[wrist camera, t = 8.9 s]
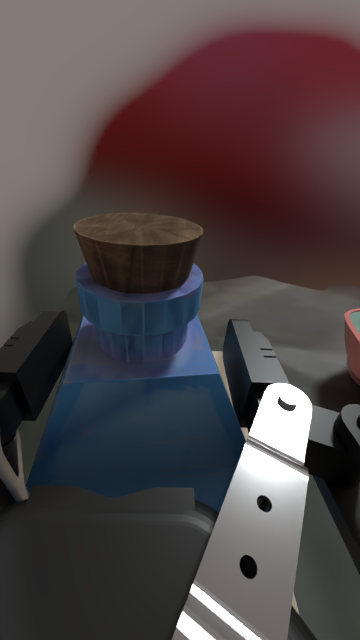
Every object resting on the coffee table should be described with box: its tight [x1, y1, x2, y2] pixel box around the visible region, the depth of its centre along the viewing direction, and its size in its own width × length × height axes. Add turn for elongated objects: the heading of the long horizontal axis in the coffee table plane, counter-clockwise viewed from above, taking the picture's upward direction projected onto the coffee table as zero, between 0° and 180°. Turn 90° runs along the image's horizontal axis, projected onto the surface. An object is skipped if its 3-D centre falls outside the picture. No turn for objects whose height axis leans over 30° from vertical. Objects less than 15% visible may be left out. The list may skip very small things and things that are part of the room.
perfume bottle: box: [26, 213, 246, 513], centre depth 10 cm, size 6×6×12 cm
